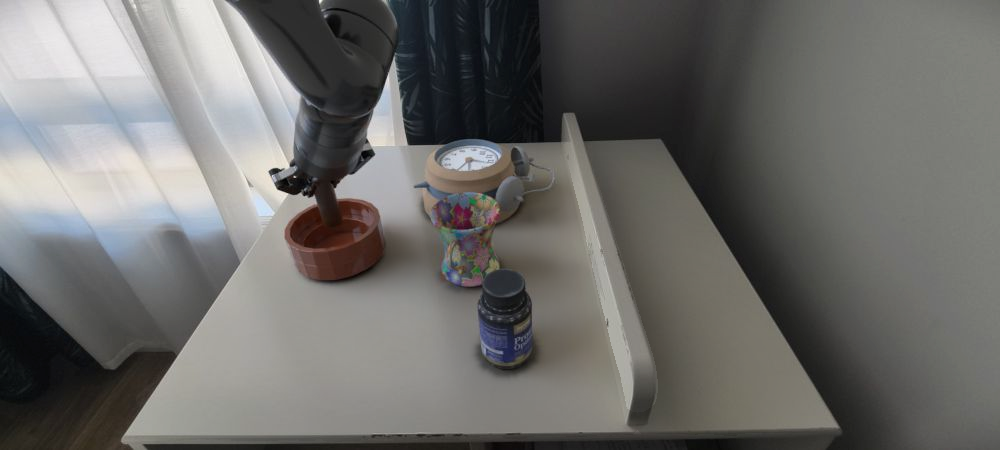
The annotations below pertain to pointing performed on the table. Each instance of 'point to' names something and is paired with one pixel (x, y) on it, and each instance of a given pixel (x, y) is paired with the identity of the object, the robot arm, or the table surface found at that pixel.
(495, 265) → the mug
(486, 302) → the pill bottle
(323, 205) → the stick
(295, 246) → the bowl
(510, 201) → the alarm clock
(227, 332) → the table surface
